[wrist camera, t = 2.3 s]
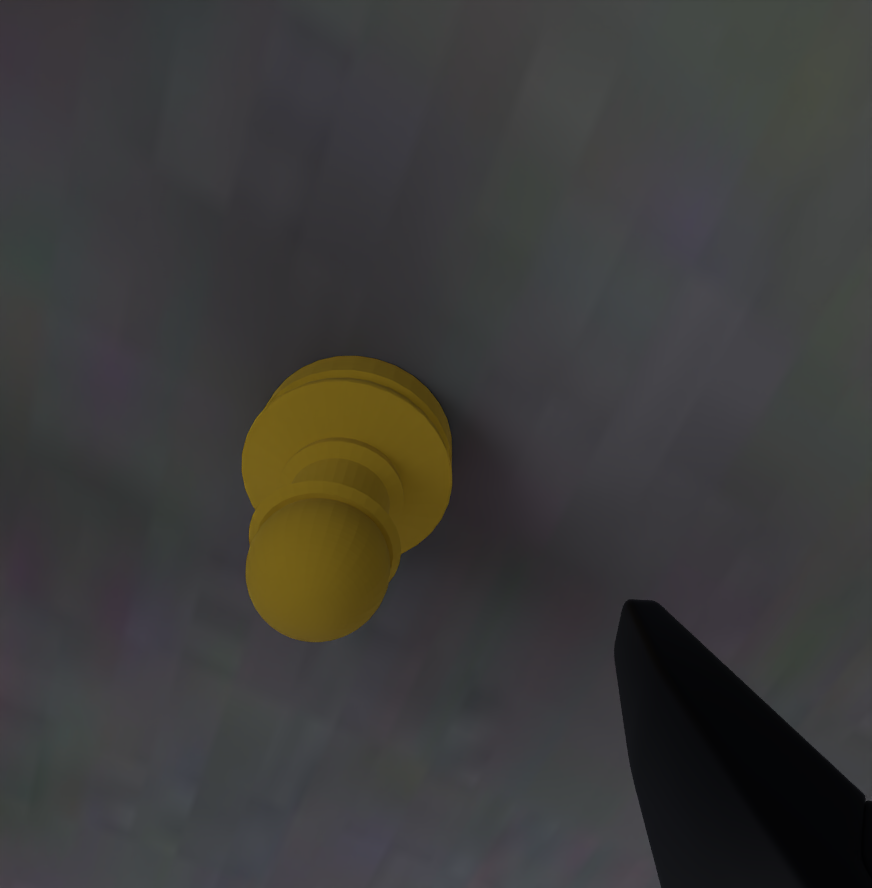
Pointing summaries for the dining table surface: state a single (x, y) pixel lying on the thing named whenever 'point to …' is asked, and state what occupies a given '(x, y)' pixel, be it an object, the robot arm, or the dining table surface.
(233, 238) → the dining table surface
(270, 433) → the chess piece
